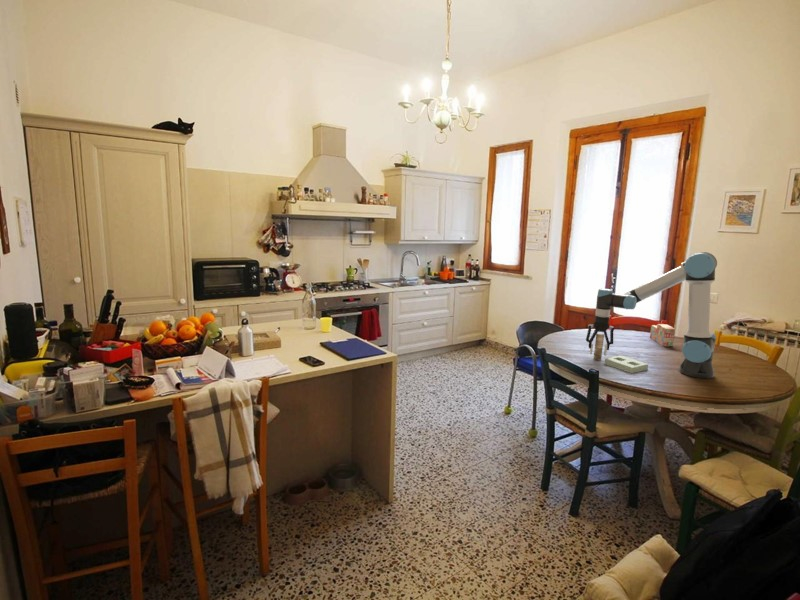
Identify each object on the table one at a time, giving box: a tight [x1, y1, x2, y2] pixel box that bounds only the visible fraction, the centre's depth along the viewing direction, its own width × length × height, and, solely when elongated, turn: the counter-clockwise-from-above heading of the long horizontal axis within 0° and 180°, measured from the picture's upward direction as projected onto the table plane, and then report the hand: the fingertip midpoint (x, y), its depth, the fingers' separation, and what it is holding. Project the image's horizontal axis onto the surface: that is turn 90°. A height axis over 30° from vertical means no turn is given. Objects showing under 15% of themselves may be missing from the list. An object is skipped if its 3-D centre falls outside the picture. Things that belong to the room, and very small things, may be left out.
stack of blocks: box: [649, 323, 676, 347], centre depth 279 cm, size 21×6×12 cm, turn 169°
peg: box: [593, 333, 605, 361], centre depth 239 cm, size 4×4×15 cm
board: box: [604, 355, 649, 374], centre depth 228 cm, size 16×14×3 cm
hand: (597, 354), depth 239 cm, fingers open, 7 cm apart
